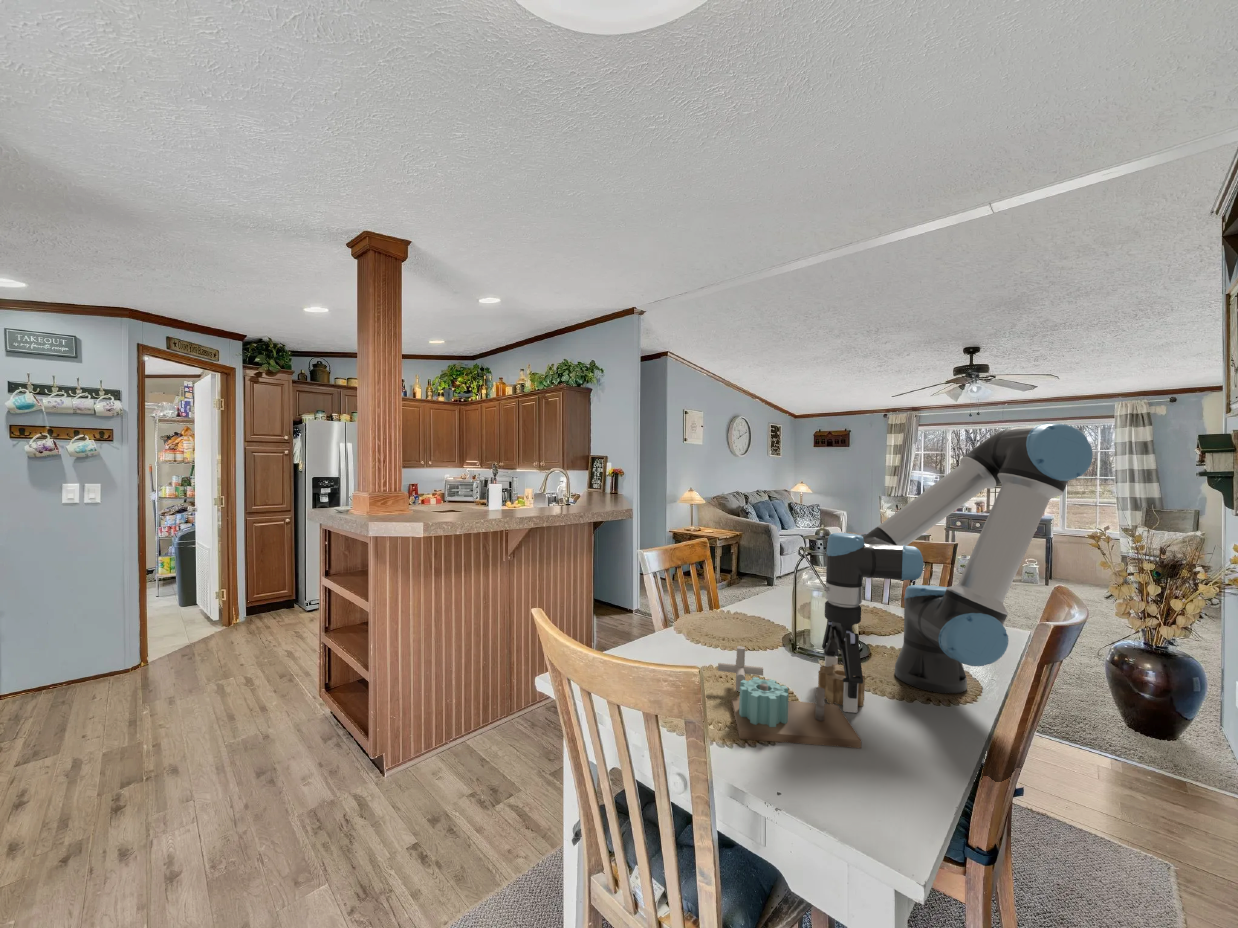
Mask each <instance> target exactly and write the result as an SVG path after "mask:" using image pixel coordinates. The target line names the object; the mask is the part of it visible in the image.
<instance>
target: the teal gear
mask: <svg viewBox="0 0 1238 928" xmlns="http://www.w3.org/2000/svg"><path fill="white" fill-rule="evenodd" d="M760 684H767V685H768V691H762V690H760ZM739 698H740V699H739V714H740V716H741V717H747V718H748V719H749V720H750V723H752V724H755V725H757V724H758V723H761V724H768V726H769V727H776V724H779V723H780V722H781V723H784V724H786V723H787V722H788V701H789V688H788V687H787V686H786V685H780V684H779V683H777V680H775V679H771V678H770V679H769V680H768V679H760V678H759V677H756V676H755V677H752V678H751V679H749V680H746V679H745V680H742V681H741V682H740V693H739Z"/></svg>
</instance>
